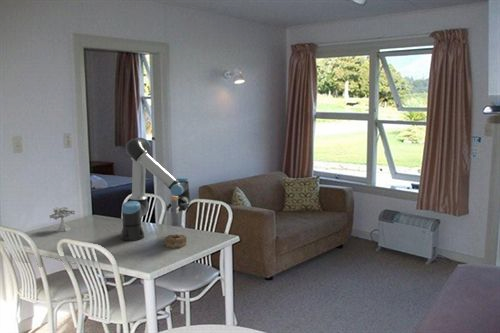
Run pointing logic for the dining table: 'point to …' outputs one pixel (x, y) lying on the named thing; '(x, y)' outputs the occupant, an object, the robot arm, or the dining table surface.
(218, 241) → the dining table surface
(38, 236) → the dining table surface
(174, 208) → the grey upright bar
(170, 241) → the brown ring
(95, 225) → the dining table surface
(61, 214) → the grey branching stemmed part
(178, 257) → the dining table surface
